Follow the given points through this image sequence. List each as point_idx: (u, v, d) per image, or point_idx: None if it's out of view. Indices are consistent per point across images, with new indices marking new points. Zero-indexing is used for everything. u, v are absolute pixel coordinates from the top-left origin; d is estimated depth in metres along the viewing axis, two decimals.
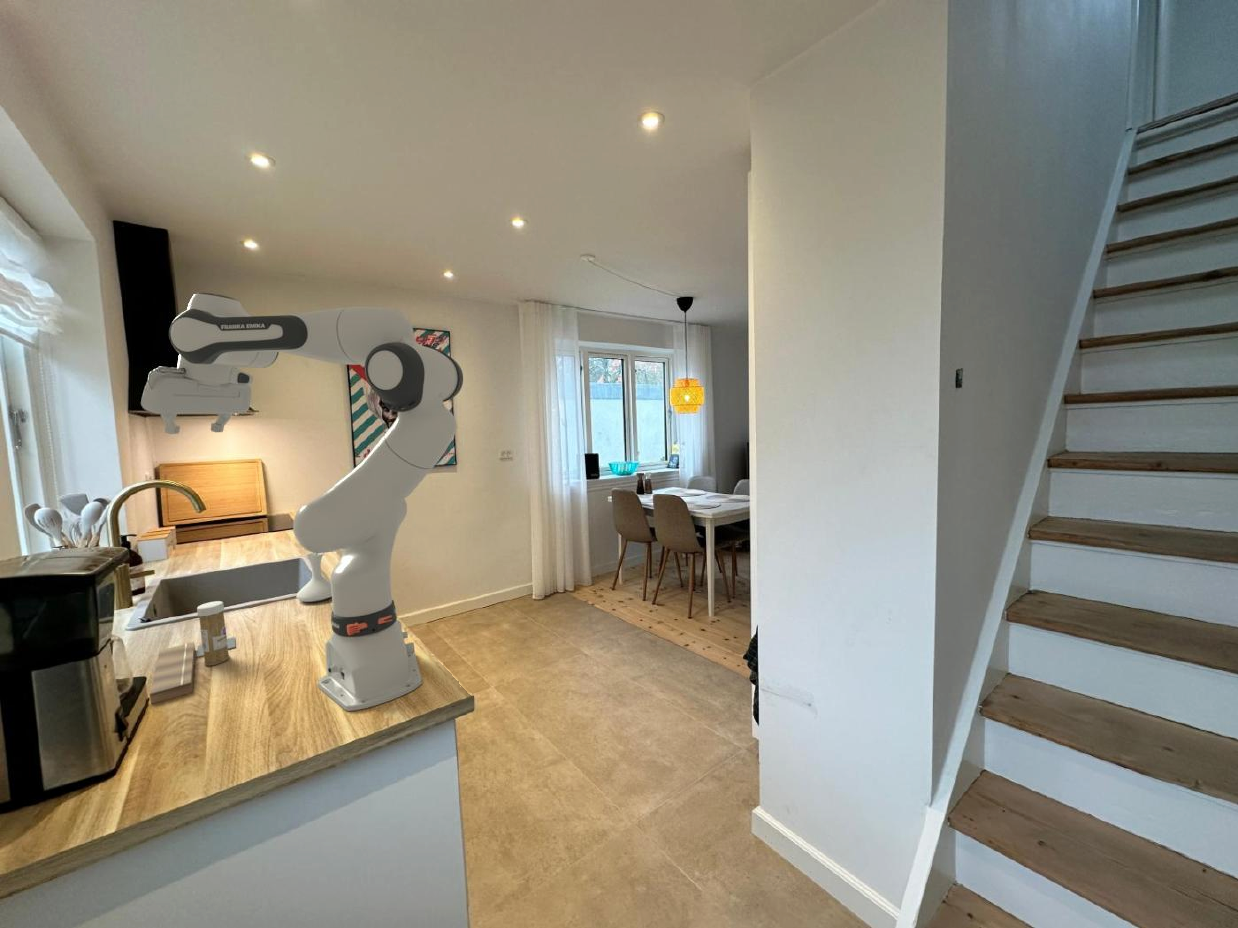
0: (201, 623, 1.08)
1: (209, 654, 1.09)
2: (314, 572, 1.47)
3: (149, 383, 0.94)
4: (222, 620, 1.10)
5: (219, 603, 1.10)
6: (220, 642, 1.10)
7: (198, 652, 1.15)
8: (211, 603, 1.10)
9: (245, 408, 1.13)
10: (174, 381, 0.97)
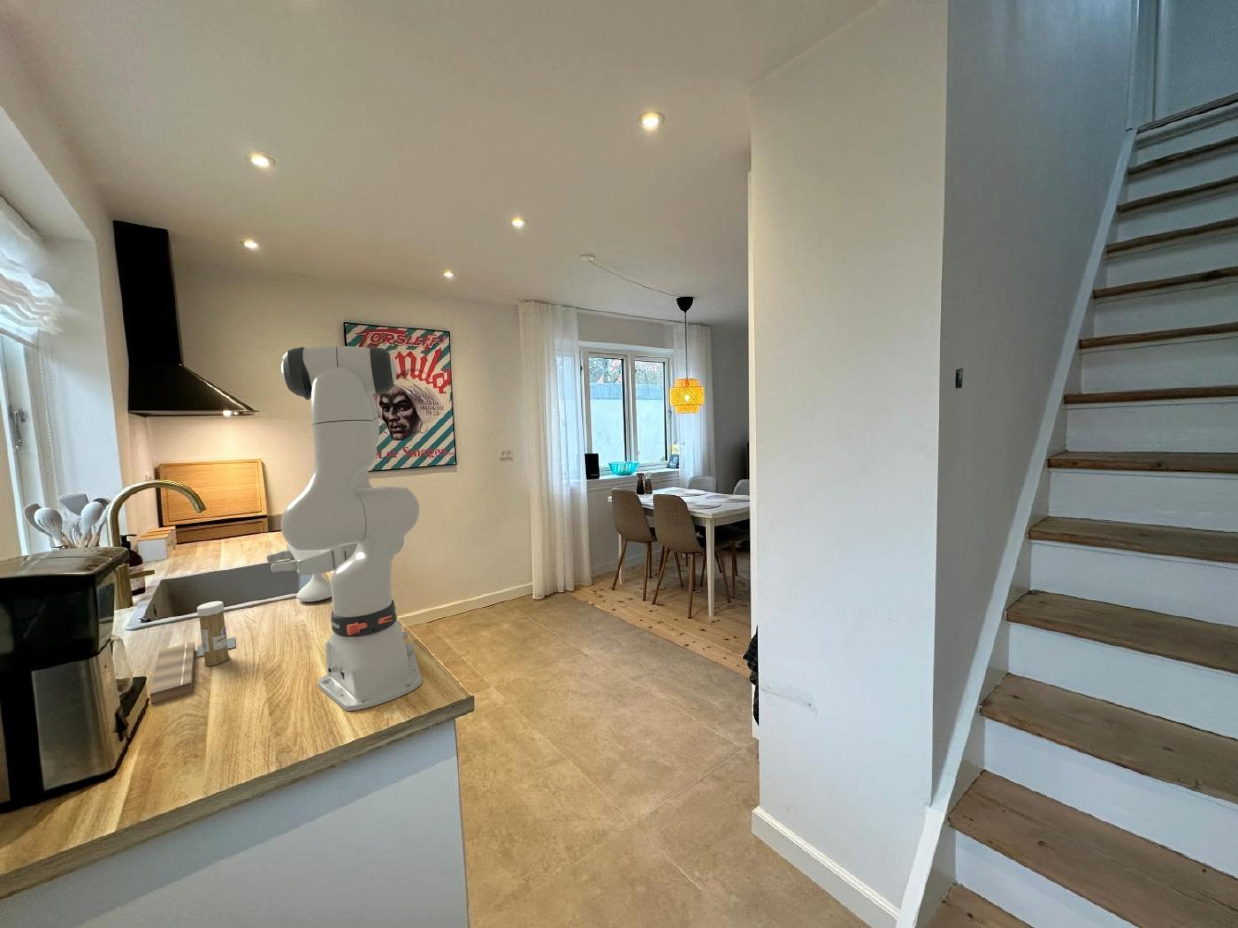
0: (201, 623, 1.08)
1: (209, 654, 1.09)
2: None
3: None
4: (222, 620, 1.10)
5: (219, 603, 1.10)
6: (220, 642, 1.10)
7: (198, 652, 1.15)
8: (211, 603, 1.10)
9: (304, 558, 1.13)
10: None
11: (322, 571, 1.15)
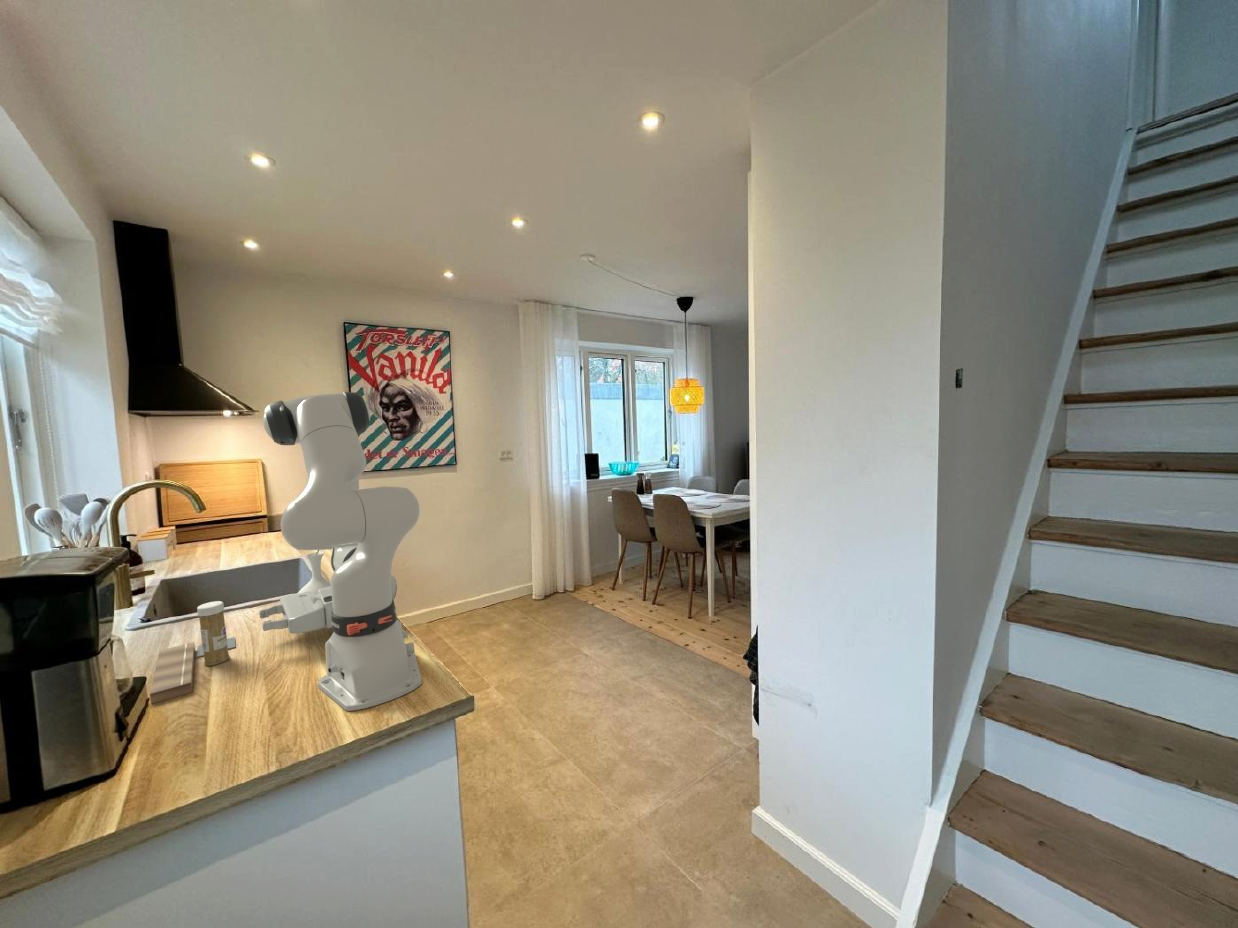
0: (201, 623, 1.08)
1: (209, 654, 1.09)
2: (314, 572, 1.47)
3: None
4: (222, 620, 1.10)
5: (219, 603, 1.10)
6: (220, 642, 1.10)
7: (198, 652, 1.15)
8: (211, 603, 1.10)
9: (295, 616, 1.12)
10: (311, 592, 1.28)
11: (313, 629, 1.14)
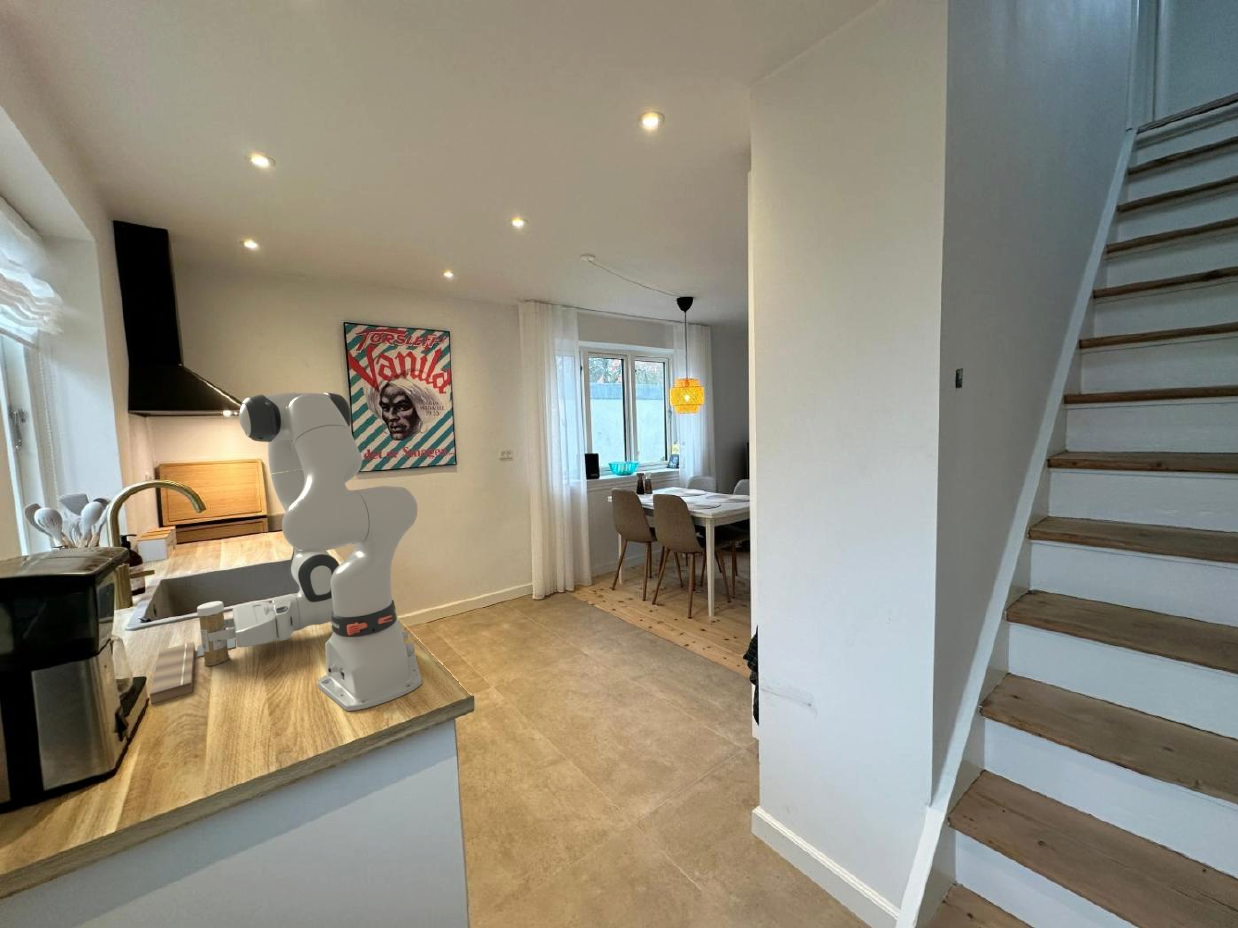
0: (201, 623, 1.08)
1: (209, 654, 1.09)
2: None
3: None
4: (222, 620, 1.10)
5: (219, 603, 1.10)
6: (220, 642, 1.10)
7: (198, 652, 1.15)
8: (211, 603, 1.10)
9: (243, 629, 1.06)
10: (266, 602, 1.22)
11: (263, 642, 1.08)
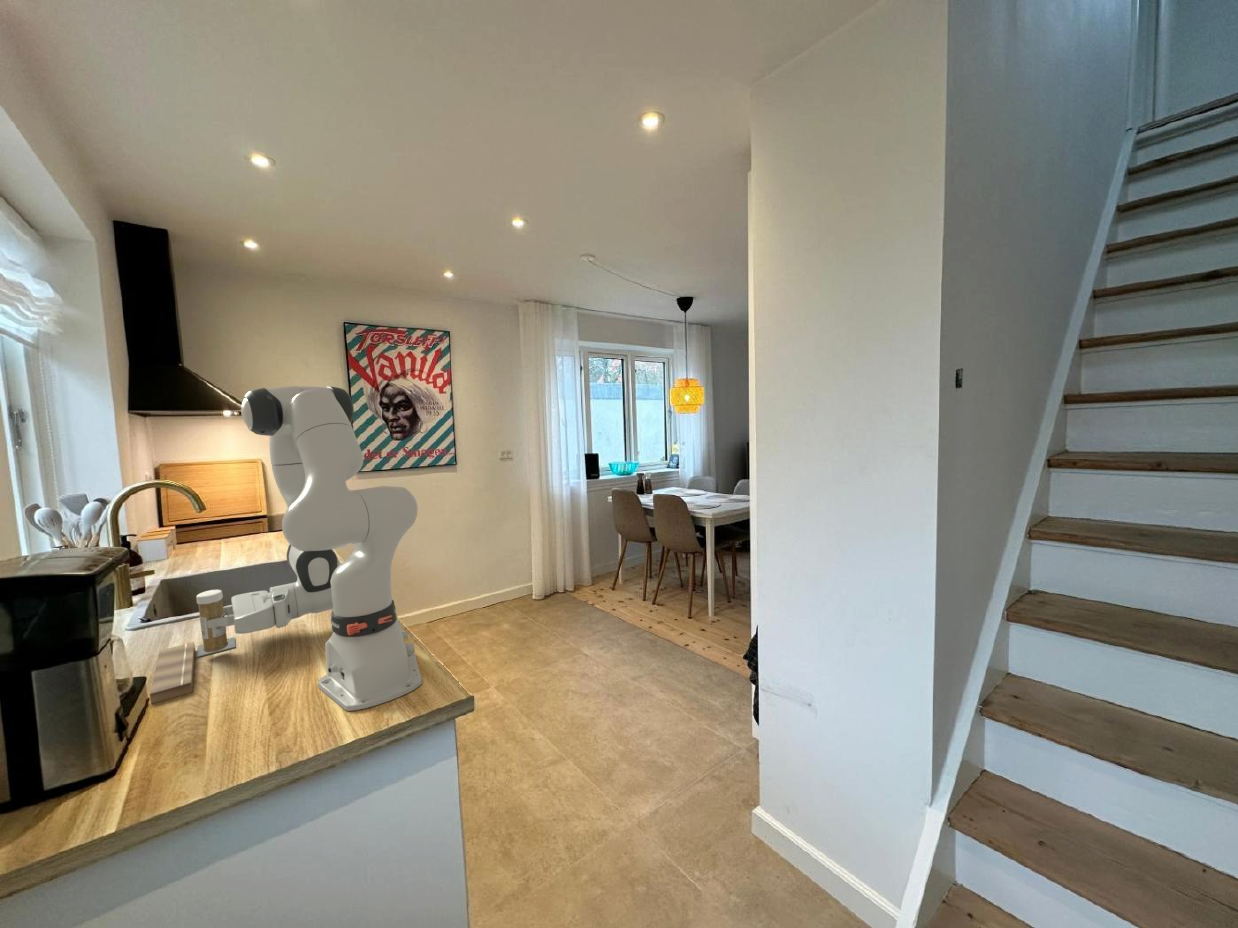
0: (200, 611, 1.10)
1: (208, 641, 1.11)
2: None
3: None
4: (221, 608, 1.13)
5: (218, 592, 1.12)
6: (219, 629, 1.12)
7: (198, 652, 1.15)
8: (210, 591, 1.12)
9: (241, 616, 1.09)
10: (264, 591, 1.24)
11: (261, 628, 1.11)
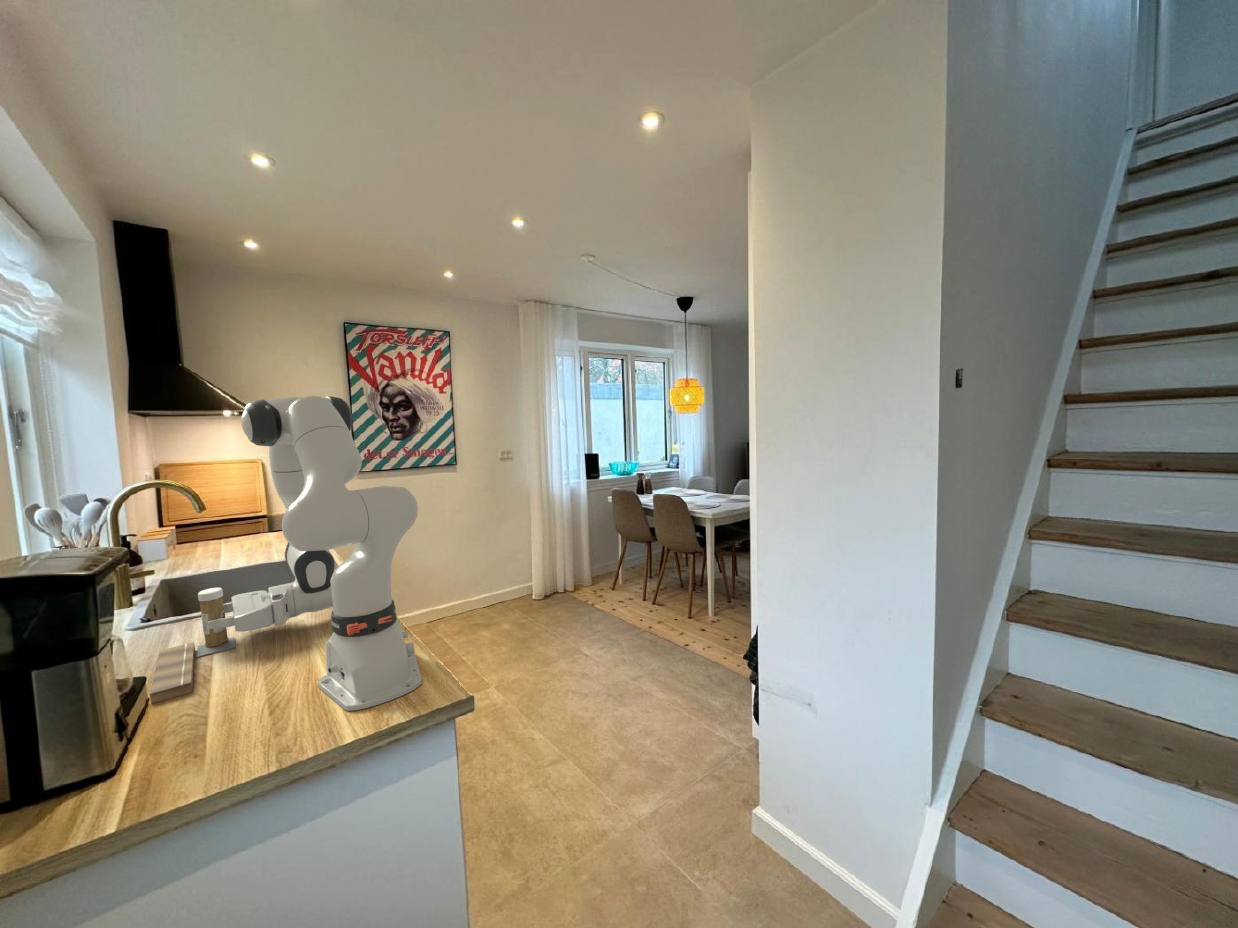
0: (202, 608, 1.16)
1: (210, 636, 1.17)
2: None
3: None
4: (221, 605, 1.19)
5: (218, 589, 1.18)
6: None
7: (198, 652, 1.15)
8: (211, 589, 1.18)
9: (241, 614, 1.13)
10: (263, 591, 1.29)
11: (260, 626, 1.15)
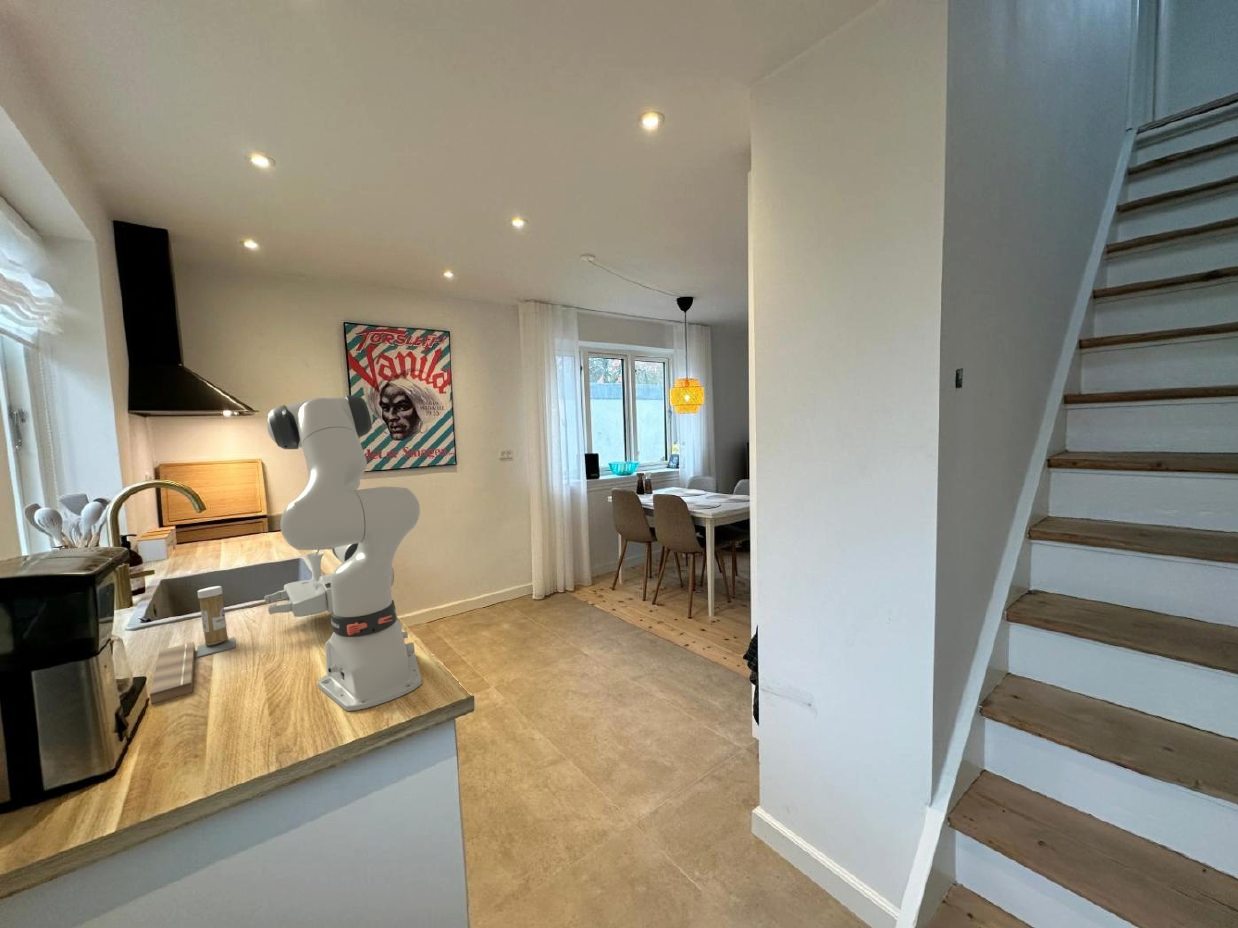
0: (201, 605, 1.17)
1: (209, 634, 1.17)
2: (314, 572, 1.47)
3: None
4: (221, 602, 1.20)
5: (218, 586, 1.20)
6: (219, 622, 1.18)
7: (198, 652, 1.15)
8: (210, 587, 1.20)
9: (299, 600, 1.21)
10: (313, 580, 1.36)
11: (316, 612, 1.22)
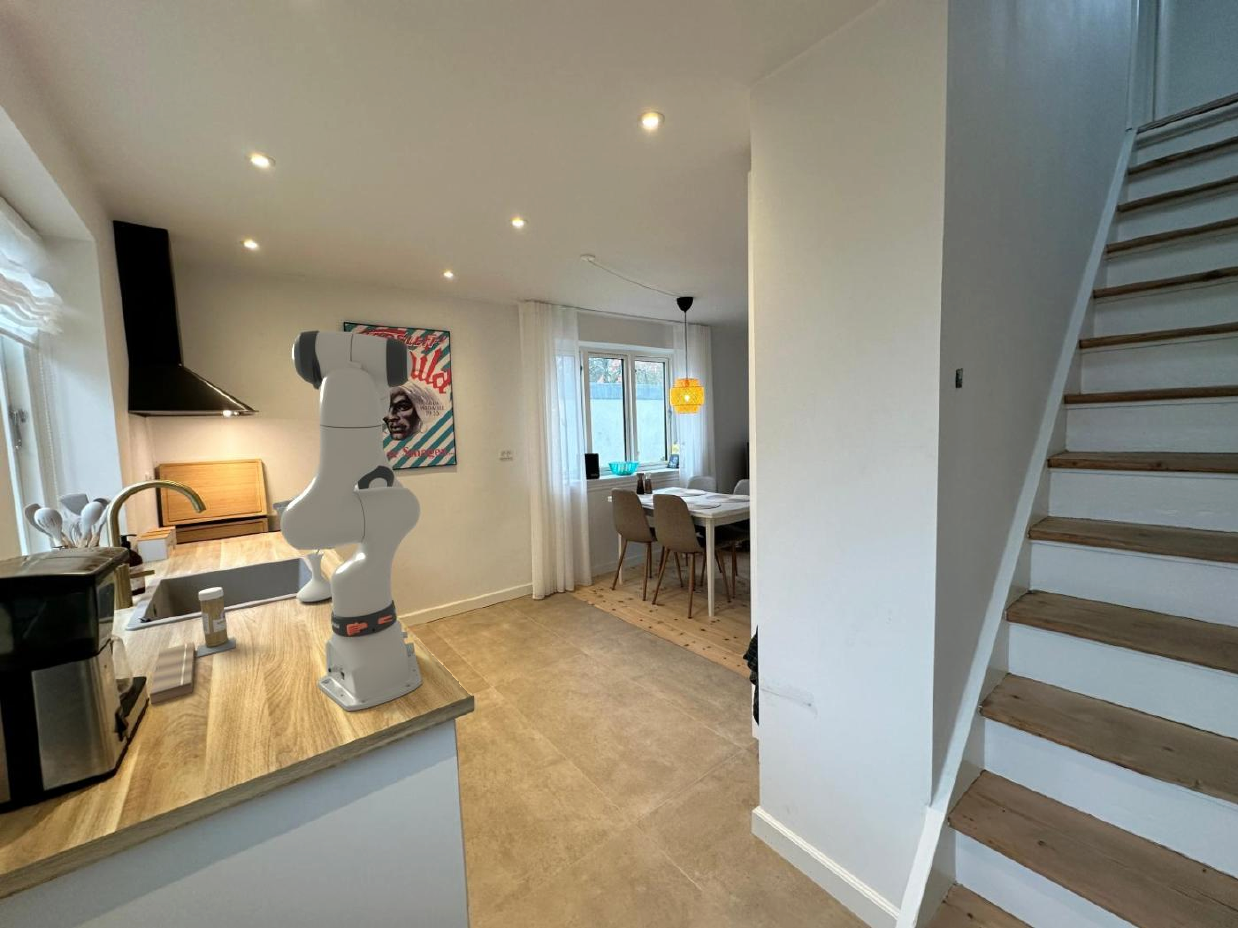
0: (202, 607, 1.17)
1: (210, 636, 1.17)
2: (314, 572, 1.47)
3: None
4: (222, 604, 1.19)
5: (219, 589, 1.19)
6: (220, 625, 1.18)
7: (198, 652, 1.15)
8: (211, 589, 1.19)
9: None
10: None
11: None
